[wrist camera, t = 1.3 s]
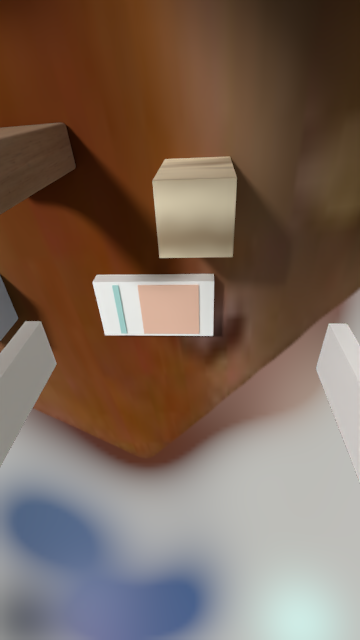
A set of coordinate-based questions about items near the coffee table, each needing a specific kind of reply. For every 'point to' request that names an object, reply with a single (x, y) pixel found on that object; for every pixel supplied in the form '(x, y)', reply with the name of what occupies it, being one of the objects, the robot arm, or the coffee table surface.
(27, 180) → the wooden block
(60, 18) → the coffee table surface
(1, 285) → the slate block
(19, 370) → the robot arm
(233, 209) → the beige box
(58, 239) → the coffee table surface
